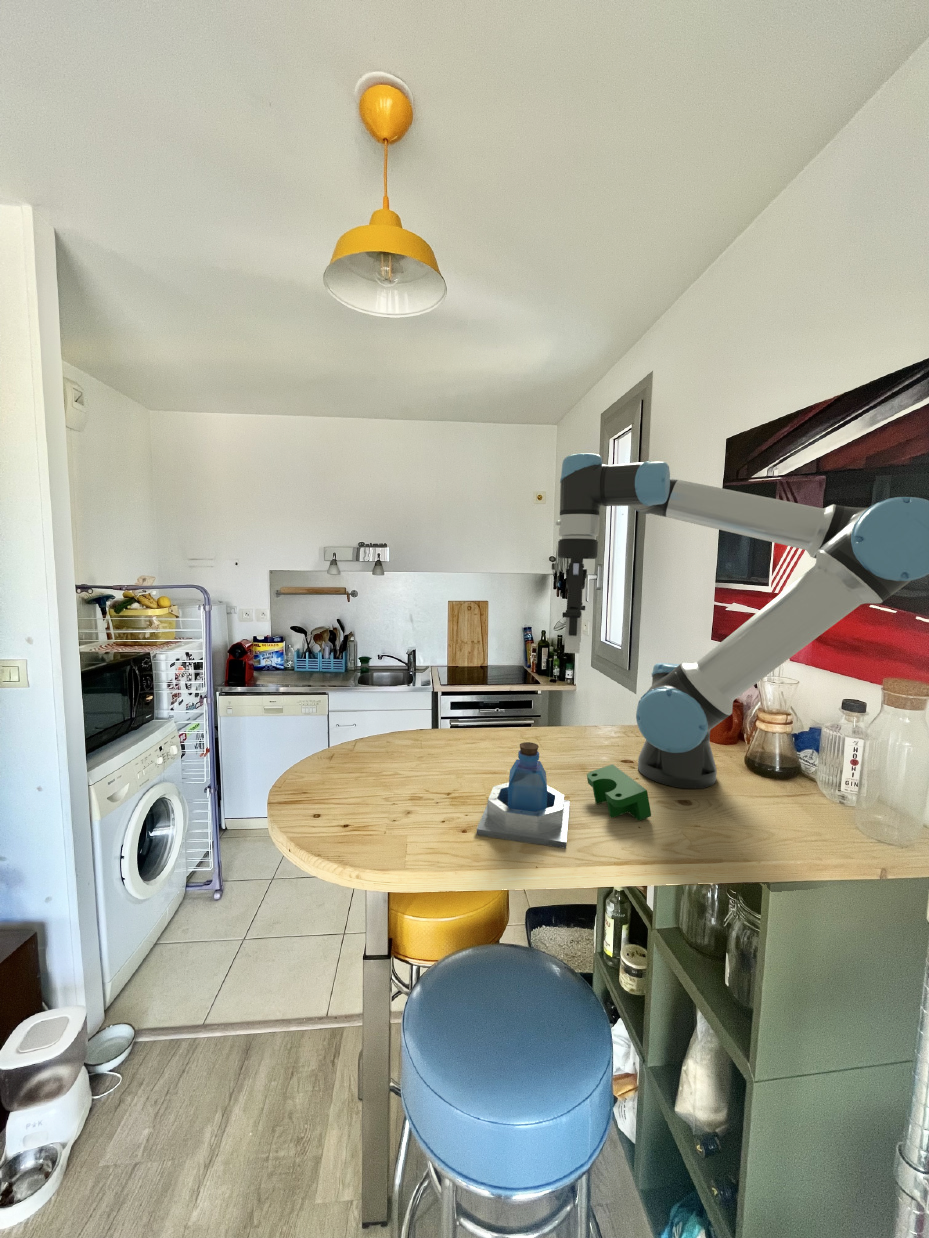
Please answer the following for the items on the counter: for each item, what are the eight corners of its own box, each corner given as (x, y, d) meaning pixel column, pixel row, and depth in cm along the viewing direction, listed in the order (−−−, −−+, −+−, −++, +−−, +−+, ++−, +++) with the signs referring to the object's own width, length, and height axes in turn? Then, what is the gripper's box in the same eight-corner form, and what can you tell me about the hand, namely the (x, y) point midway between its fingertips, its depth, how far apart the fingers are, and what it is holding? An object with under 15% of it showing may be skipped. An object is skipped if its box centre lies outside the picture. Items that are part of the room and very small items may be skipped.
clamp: (597, 822, 95) (580, 773, 97) (625, 812, 96) (608, 764, 98) (625, 830, 84) (605, 775, 86) (657, 818, 85) (637, 764, 87)
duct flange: (569, 806, 92) (570, 784, 91) (566, 848, 78) (567, 823, 78) (492, 796, 95) (493, 775, 95) (476, 834, 82) (477, 811, 81)
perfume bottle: (508, 804, 90) (511, 738, 89) (544, 806, 89) (547, 740, 88) (507, 821, 84) (509, 751, 83) (545, 824, 83) (548, 753, 82)
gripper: (561, 540, 112) (557, 636, 115) (554, 534, 88) (549, 656, 90) (597, 541, 110) (592, 638, 113) (599, 535, 86) (592, 659, 89)
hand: (573, 647), depth 102 cm, fingers open, 13 cm apart
